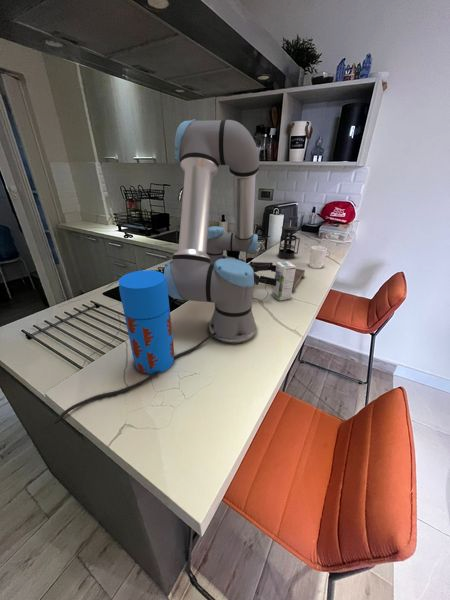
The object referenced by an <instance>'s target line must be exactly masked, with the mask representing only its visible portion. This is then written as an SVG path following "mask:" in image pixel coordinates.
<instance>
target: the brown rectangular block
mask: <svg viewBox="0 0 450 600" xmlns="http://www.w3.org/2000/svg"><path fill="white" fill-rule="evenodd" d="M305 272H306V270H305V269H302V268H301V269H300V268H296V270H295V276H294V281H293V288H292V293H291V294H293V293H294V292H295V287H296V285H297V284H298V283H299V281H300V280H301V279H304V277H305V274H306V273H305Z"/></svg>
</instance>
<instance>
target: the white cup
mask: <svg viewBox="0 0 450 600" xmlns="http://www.w3.org/2000/svg"><path fill="white" fill-rule="evenodd" d="M327 251H328V248H327V247H326V246H321V245H313V246H311V247H310V254H309V267H310V268H313V269H322V268H323V266H324V262H325V260H326V259H325V258H326V255H327Z"/></svg>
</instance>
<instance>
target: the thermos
mask: <svg viewBox="0 0 450 600" xmlns="http://www.w3.org/2000/svg"><path fill="white" fill-rule="evenodd" d="M118 289H119V295H120V300H121V305H122V310H123V315H124V319H125V324H126V329H127V334H128V339H129V344H130V349H131V353H132V358H133V361H134V365H135V368H136V369H137V370H138V372H141V374H145V375H152V374H154V373H155V372H156V371H160V372H159V373H158V374H160V373H163V372H165V371H167V370H168V369H170V368H171V367H172V365H173V364H174V361H175V359H174V356H175V348H174V347H175V346H174V337H173V328H172V327H173V326H172V319H171V309H170V298H169V294H168V288H167V282H166V278H165V275H164V272H161V271H157V270H149V269H145V270H143V269H142V270H136V271H132V272H128V273H126V274H124V275H122V276H121V277H119V279H118Z"/></svg>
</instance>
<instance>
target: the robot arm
mask: <svg viewBox="0 0 450 600" xmlns="http://www.w3.org/2000/svg"><path fill="white" fill-rule="evenodd" d="M174 147H175V148H174V153H175V159H176V161H177V163H178V164H180V168H181V170H182V171H183V173H184V177H183V189H182V203H181V212H180V213H181V214H180V226H179V239H178V249H177V250H176V251H175V252H174V253H173V254H172V259H171V260H168V261H166V263H165V265H164V269H163V274H164V275H165V278H166V282H167V288H168V296H169V297H171V298H172V299H174V300H175V299H177V300H181V301H190V302H191V301H192V302H204V303H214V311H213V313H212V316H211V319H210V322H209V326H208V327H209V333H210V334H209V336H207V337H206V338H204V339H203V340H202V341H201V342H199V343H197V344H196V345H195V346H193V347H191V348H189V349H188V350H185V351H183V352H180V353H177V354H176V355H174V360H175V359H177V358H180V357H181V356H184V355H186V354H188V353H191V352H193V351H195V350H197V349H198V348H199V347H201V346H202V345H203V344H204V343H206V342H207V341H209V340H210V339H212V338H214V339H215V340H217V341H219V342H221V343H225V344H242V343H245V342H248V341H250V340H251V339H253V337H254V336H255V335H256V330H257V324H256V321H255V317H254V315H253V310H252V309H253V308H252V307H253V296H254V295H253V293H254V286H255V285H256V286H258V285H260V284H263V285H267V286H273V287H274V286H276V282H277V279H275V277H274V278H273V277H269V276H265V275H258V274H257V273H258V272H265V271H270V272H273V273H276V265H277V264H273V262H272V261H270V262H267V261H266V262H265V261H264V262H263V261H262V262H260V261H249V263H247V262H246V261H245V259H242V258H235V257H232V256H227V255H224V251H229V252H243V253H255V252H257V250H258V241H259V240H258V239H259V235H258V234H257V233H254V226H255V225H254V223H255V222H254V221H255V198H256V175H257V174H258V173H259V171H260V155H259V150H258V147H257V143H256V142H255V139H254V138H253V136H252V134H251V133H250V131H249V130H248V129H247V128H246V127H245V126H244V125H243V124H242V123H240V122H238V121H237V120H234V119H220V120H217V119H216V120H215V119H213V120H199V119H192V120H184V121H182V122H181V123H180V124H179V125H178V126H177V128H176V132H175V137H174ZM219 166H228V168H229V174H230V175H231V176H232V187H233V188H232V193H233V194H232V196H233V220H234V222H233V223H234V224H233V225H234V232H226V231H225V229H224V227H222V226H218V225H216V226H215V225H213V226H209V225H210V213H211V201H212V192H213V191H212V190H213V180H214V179H213V178H214V177H215V176H217V174H218V173H219ZM159 372H160V371H156V372H155V373H154V374H150V375H149V376H148V377H146V378H144V379H142V380H140V381H138V382H136V383H134V384H132V385H128V386H126V387H124V388H122V389H118V390H114V391H111V392H110V391H109V392H106V393H101V394H98V395H94V396H91V397H89V398H87V399H84V400H83V401H82V400H81V401H80V402H78V403H75V404H73V405H71V406H70V407H68V408H67V409H66V410H64V411H63V412H61V414H59V416H58V417H57V419H56V420H55V422H54V425H57V424H59V423H60V422H61V421H62V419H64V417H65V416H66V415H67V414H68V413H70V412H71V411H73V410H74V409H76V408H78V407H80V406H83V405H85V404H87V403H90V402H92V401H95V400H97V399H101V398H106V397H111V396H115V395H118V394H122V393H125V392H127V391H129V390H132V389H134V388H136V387H139V386H142V385H143V384H144V383H147V382H148V381H150V380H152V379H153V378H154V377H156V376H157V375H158V374H160V373H161V372H160V373H159ZM60 468H61V471H62V473H63V475H64V476H65V478H66V480H67V482H68V484H69V485H70V487H71V488H72V490H73V492H74V493H75V495H76V498H77V500H78V502H79V505H83V504H84V501H83V499H82V498H81V496H80V494H79V493H78V491H77V490H76V488H75V486H74V485H73V483H72V482H71V480H70V479H69V477H68V475H67V474H66V472H65V470H64V469H63V467H62V466H60Z"/></svg>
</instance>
